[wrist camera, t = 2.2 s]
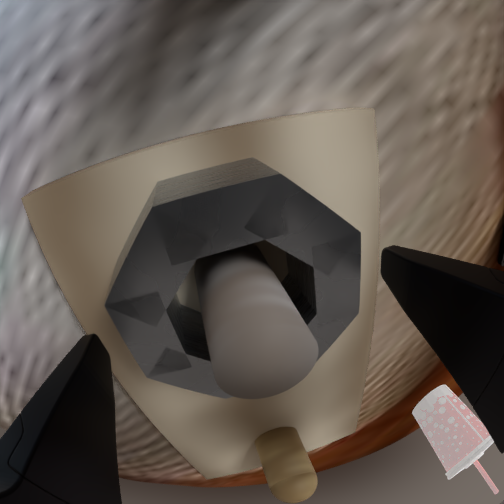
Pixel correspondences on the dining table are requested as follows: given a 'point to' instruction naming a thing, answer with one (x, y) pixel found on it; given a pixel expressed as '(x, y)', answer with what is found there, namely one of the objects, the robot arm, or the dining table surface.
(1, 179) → the dining table surface
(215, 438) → the base board
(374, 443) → the dining table surface
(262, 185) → the steel ring
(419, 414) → the beverage cup
